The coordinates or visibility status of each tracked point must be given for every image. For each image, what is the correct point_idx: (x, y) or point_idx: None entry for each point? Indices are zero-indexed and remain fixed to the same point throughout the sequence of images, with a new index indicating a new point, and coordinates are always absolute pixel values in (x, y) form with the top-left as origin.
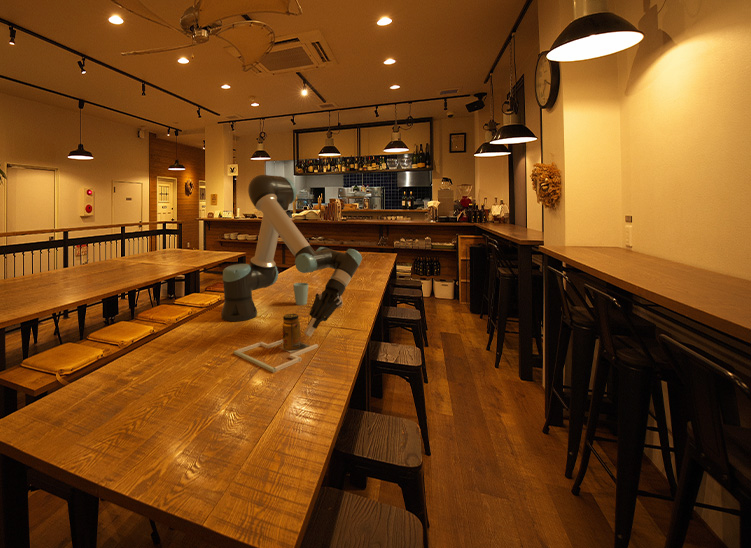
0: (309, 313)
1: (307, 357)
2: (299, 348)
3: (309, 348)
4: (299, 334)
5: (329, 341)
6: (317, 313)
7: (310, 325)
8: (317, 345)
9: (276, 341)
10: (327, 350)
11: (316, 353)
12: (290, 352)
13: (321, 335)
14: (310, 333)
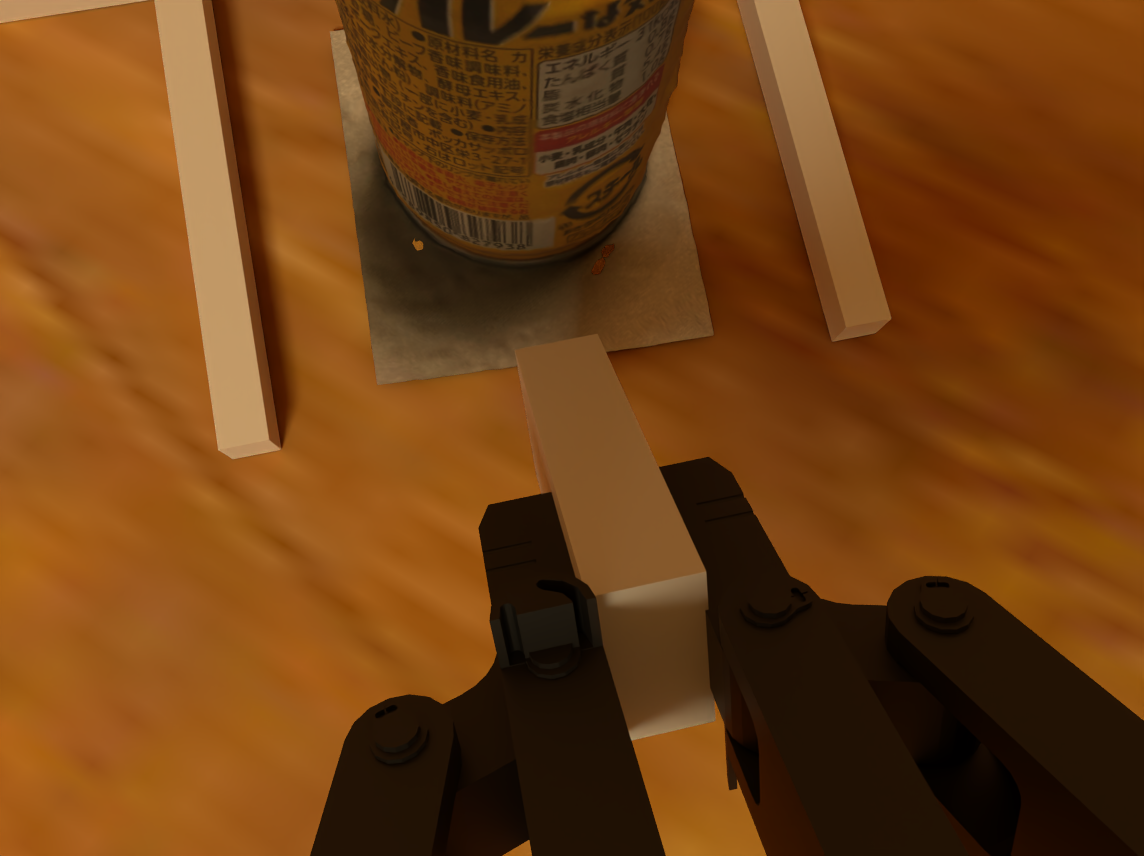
0: (986, 597)
1: (20, 139)
2: (398, 208)
3: (192, 264)
4: (374, 94)
5: (328, 780)
6: (768, 783)
7: (566, 446)
8: (221, 442)
9: (799, 8)
10: (10, 517)
11: (43, 314)
12: (340, 32)
13: (697, 828)
14: (538, 463)
